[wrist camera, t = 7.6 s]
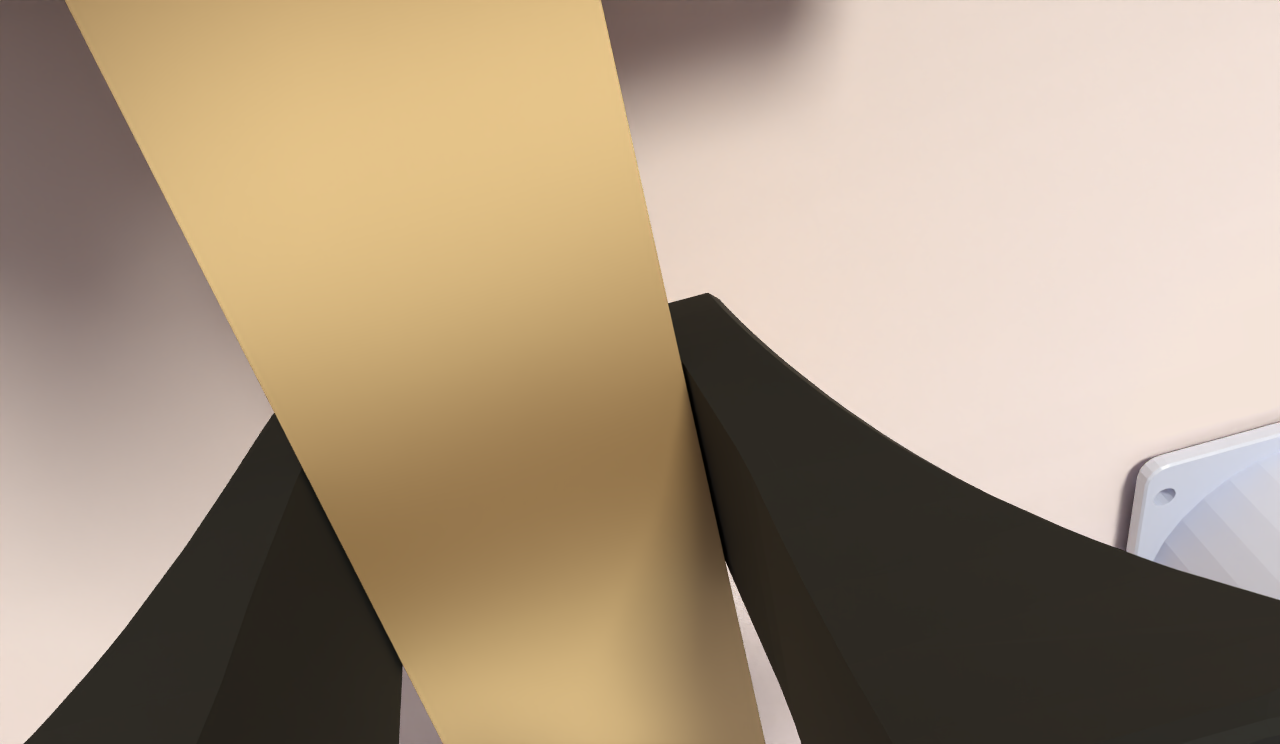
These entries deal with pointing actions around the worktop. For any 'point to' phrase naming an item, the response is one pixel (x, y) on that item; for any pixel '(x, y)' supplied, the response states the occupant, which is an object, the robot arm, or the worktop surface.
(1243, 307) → the worktop surface
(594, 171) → the rail
